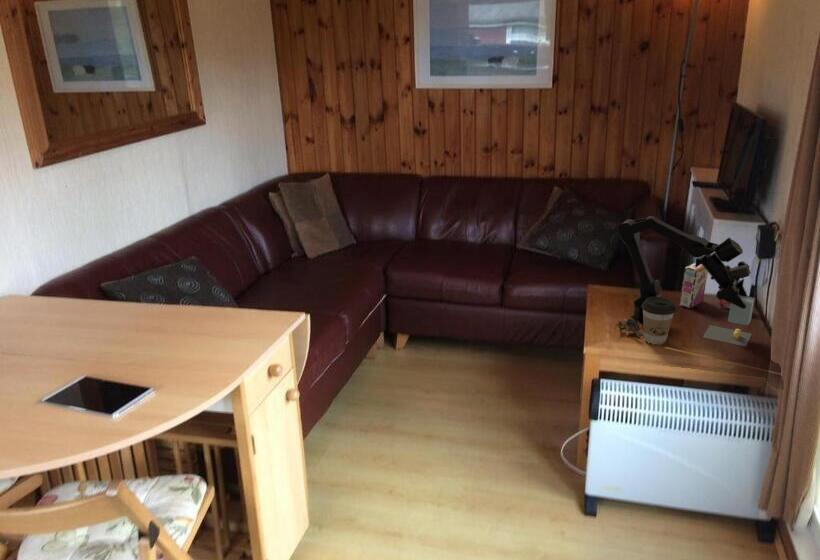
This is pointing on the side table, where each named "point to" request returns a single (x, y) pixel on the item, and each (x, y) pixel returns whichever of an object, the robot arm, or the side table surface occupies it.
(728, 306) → the beverage can
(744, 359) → the side table surface
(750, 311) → the block
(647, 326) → the coffee cup
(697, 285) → the candy bar box
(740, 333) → the mat
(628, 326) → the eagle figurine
